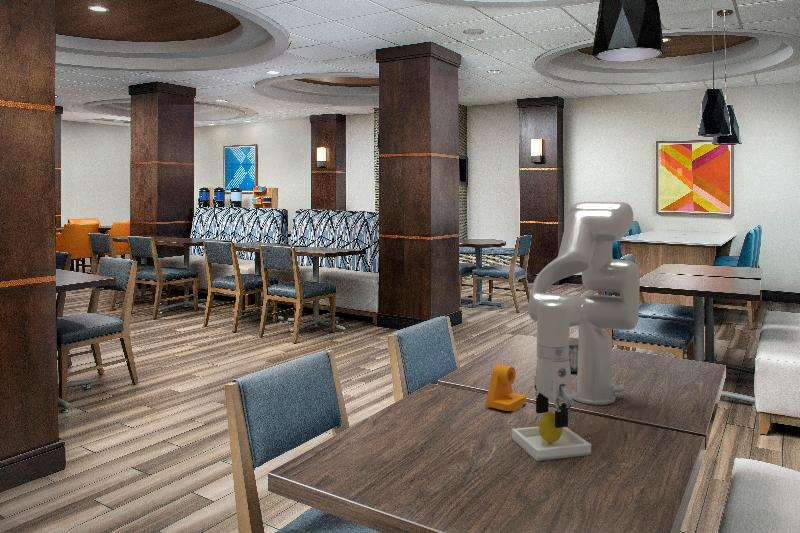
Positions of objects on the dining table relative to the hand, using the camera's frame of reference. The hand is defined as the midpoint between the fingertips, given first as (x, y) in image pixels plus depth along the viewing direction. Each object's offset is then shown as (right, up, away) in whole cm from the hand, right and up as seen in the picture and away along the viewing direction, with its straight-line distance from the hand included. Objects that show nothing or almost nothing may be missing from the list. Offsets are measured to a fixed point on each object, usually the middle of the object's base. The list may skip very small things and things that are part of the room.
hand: (551, 419), depth 154 cm
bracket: (-6, -4, +30) cm, 30 cm away
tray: (0, -7, 0) cm, 7 cm away
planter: (+22, +1, +69) cm, 72 cm away
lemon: (0, -6, 0) cm, 6 cm away
